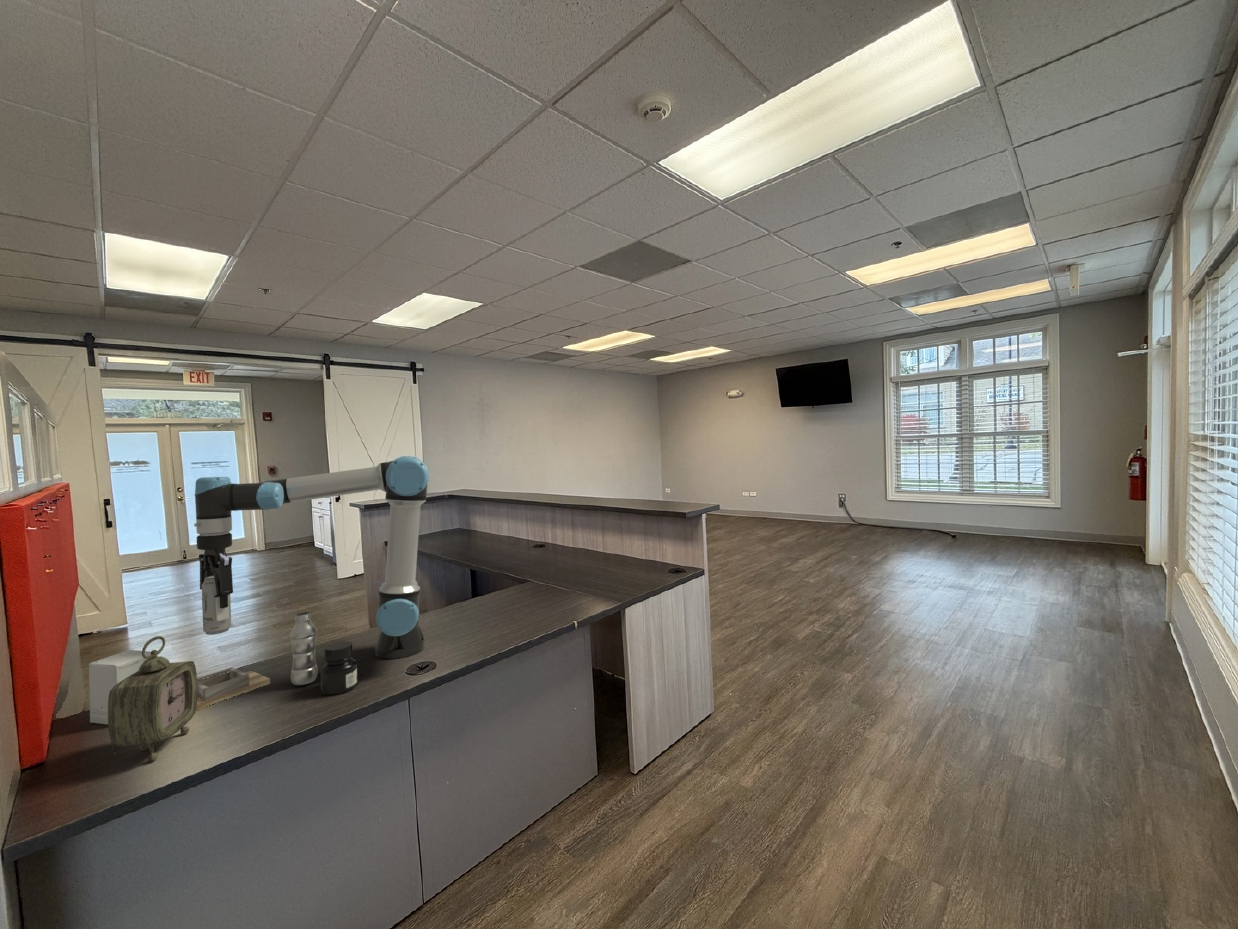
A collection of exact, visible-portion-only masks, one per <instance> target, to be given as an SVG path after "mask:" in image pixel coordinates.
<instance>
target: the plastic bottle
mask: <svg viewBox="0 0 1238 929" xmlns="http://www.w3.org/2000/svg"><path fill="white" fill-rule="evenodd" d="M311 620H312V616H311V612H310V611H302V612H299V613H296V614H295V616H294V622H295V625H293V627H292V629H291V631H290V634H289V637H290V643H291V650H292V651H291V652H292V666H291V672H290V682H291V683H292V684H293V685H294V686H305V685H308V684H310V683H311V684H312V683H313V682H315V681H316V679H317V678H318V674H319V668H318V665H317V658H316V641H317V634H318V629H317V626H316V625H315V624H314V623H313V622H312V621H311Z"/></svg>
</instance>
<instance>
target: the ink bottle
mask: <svg viewBox="0 0 1238 929" xmlns="http://www.w3.org/2000/svg"><path fill="white" fill-rule="evenodd" d="M323 650H324V651H323V652H324V655H323V656H324V664H323V665H322V666H321V668H320V691H321V693H322V694H324V695H327V696H331V695H333V696H334V695H340V694H343V693H347V692H349V691H351V690H353V689H354V688H356V687H357V684H358V664H357V660H356V659H354V658H353V642H351V641H346V640H344V641H337V642H333V643H329V644H327V645H325V646H324V648H323Z"/></svg>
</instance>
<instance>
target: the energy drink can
mask: <svg viewBox="0 0 1238 929" xmlns="http://www.w3.org/2000/svg"><path fill="white" fill-rule="evenodd" d="M215 595H217V591H216V585H215V579H214V576H210V577H206V578H204V582H203V584H202V590H201V601H202V602H201V605H202V630H203V633H205V635H207V636H211V635H219V634H223V633H226V632H228V631H229V630H230V628H231V627H232V613H231V612H232V610H231V609H232V608H231V605H232V604H231V603H232V602H231V594H229V619H225V620H221V621H216V600H215V597H214V596H215Z"/></svg>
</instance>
